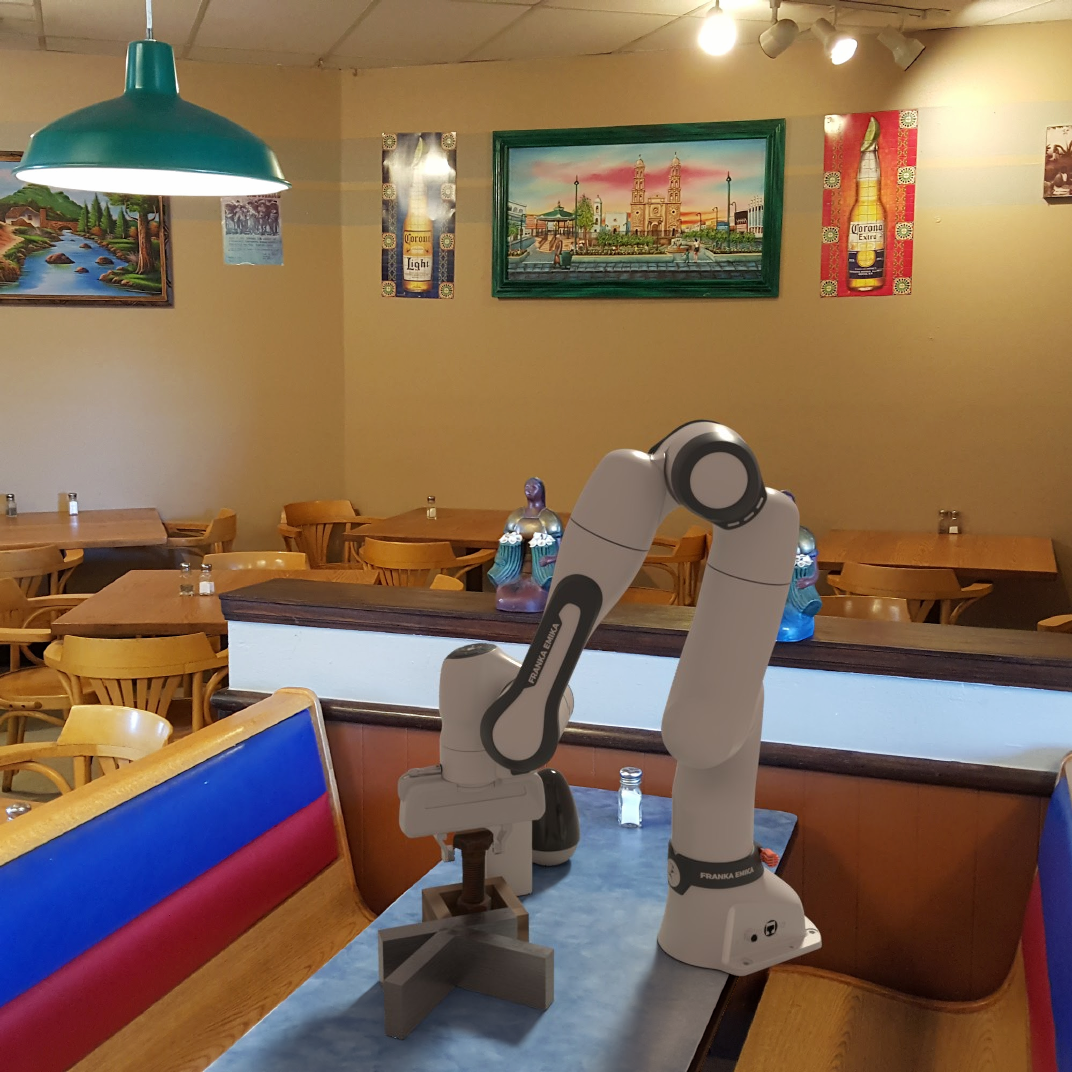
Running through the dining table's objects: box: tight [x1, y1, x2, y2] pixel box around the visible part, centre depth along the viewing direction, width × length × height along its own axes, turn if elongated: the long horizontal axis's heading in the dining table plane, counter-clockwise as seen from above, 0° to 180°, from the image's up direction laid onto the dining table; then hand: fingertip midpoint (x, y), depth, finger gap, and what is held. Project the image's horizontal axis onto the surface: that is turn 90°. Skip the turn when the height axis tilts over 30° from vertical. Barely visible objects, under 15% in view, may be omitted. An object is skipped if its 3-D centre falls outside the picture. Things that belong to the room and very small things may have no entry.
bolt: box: [452, 828, 494, 915], centre depth 157 cm, size 6×5×15 cm
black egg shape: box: [532, 767, 581, 867], centre depth 181 cm, size 10×10×15 cm
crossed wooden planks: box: [377, 907, 555, 1040], centre depth 143 cm, size 22×14×7 cm, turn 110°
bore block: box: [421, 876, 530, 943], centre depth 158 cm, size 12×12×5 cm
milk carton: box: [484, 820, 533, 897], centre depth 171 cm, size 7×7×19 cm
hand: (473, 856), depth 156 cm, fingers closed on bolt, 6 cm apart
